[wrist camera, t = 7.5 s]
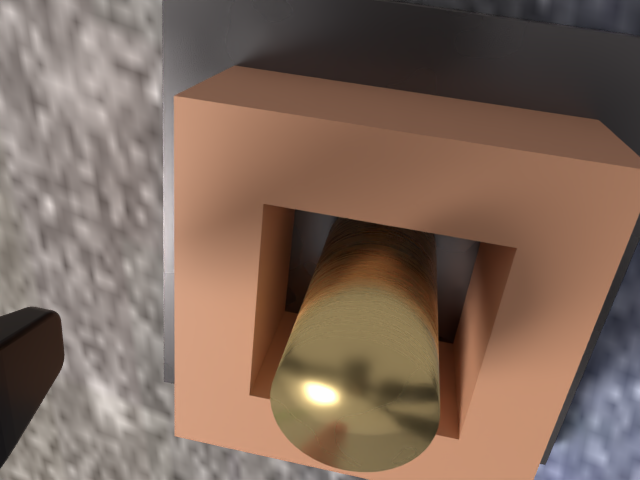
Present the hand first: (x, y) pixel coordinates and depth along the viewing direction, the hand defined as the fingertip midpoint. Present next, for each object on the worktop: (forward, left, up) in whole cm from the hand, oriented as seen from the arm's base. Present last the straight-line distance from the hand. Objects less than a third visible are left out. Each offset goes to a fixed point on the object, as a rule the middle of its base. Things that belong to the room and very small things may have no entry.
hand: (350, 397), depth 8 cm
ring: (0, 0, -5) cm, 5 cm away
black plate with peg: (0, 0, -5) cm, 5 cm away
